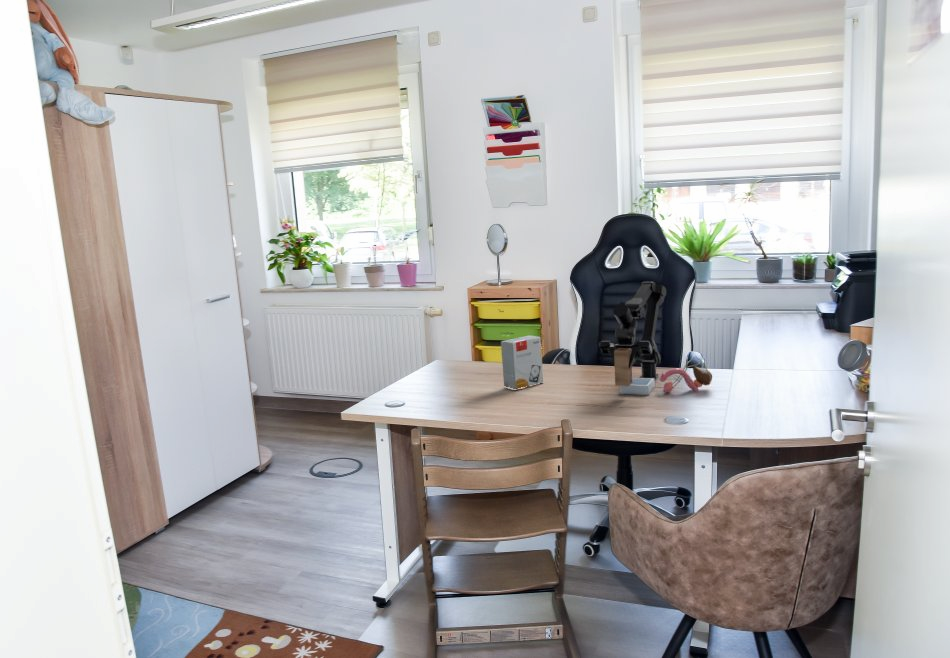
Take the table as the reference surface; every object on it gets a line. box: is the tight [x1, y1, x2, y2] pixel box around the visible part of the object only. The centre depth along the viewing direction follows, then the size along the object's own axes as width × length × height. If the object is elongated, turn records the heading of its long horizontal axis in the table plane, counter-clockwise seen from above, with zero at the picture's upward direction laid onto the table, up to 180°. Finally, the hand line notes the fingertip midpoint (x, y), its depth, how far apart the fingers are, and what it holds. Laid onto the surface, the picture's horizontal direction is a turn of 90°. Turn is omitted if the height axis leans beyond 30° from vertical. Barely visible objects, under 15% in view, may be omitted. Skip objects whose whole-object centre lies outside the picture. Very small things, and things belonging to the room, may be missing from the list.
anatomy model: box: [659, 356, 713, 394], centre depth 255 cm, size 11×15×17 cm
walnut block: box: [613, 348, 633, 387], centre depth 253 cm, size 5×5×13 cm
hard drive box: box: [500, 335, 544, 389], centre depth 283 cm, size 16×8×20 cm, turn 126°
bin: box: [619, 377, 656, 396], centre depth 262 cm, size 11×11×4 cm
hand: (622, 367), depth 252 cm, fingers closed on walnut block, 5 cm apart
